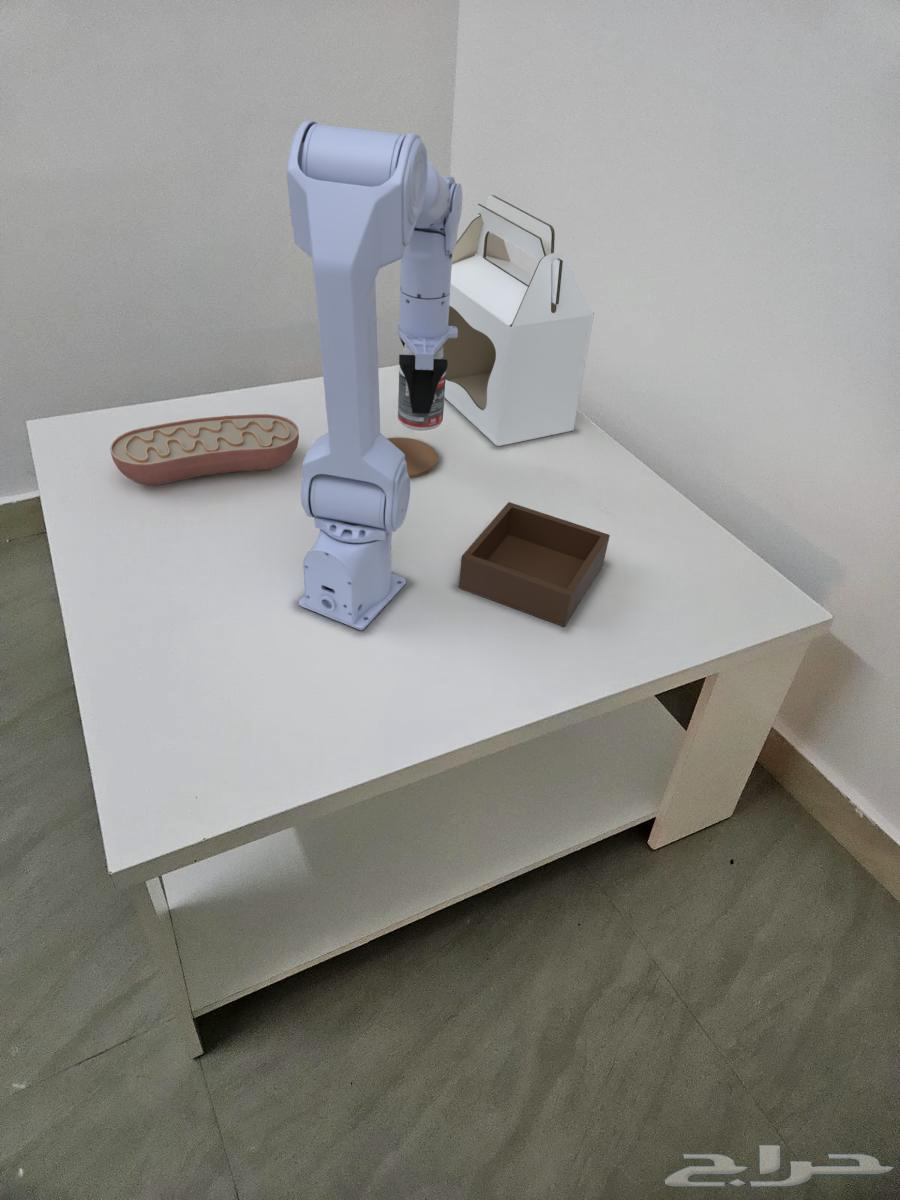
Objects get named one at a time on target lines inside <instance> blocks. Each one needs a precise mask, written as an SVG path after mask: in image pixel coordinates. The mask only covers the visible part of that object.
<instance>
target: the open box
mask: <svg viewBox="0 0 900 1200" xmlns="http://www.w3.org/2000/svg"><path fill="white" fill-rule="evenodd" d="M478 535H479V536H478V537H477V538H476V539H475V540H474V541H473V542H472V543H471V545H470V546H468V548H467V549H466V550H465V551H464V553H463V554H462V555H461V557H460V567H459V578H458V579H459V580H458V589H460V590H463V591H466V592H469V593H471V594H474V595H476V596H479V597H482V598H485V599H488V600H490V601H493V602H495V603H498V604H501V605H504V606H507V607H509V608H512V609H515V610H517V611H519V612H523V613H526V614H528V615H531V616H533V617H536V618H539V619H542V620H543V621H547V622H550V623H552V624H554V625H558V626H561V627H563V628H565V627H566V626H567V624H568V623H569V621H570V619H571V618H572V617H573V615H574V613H575V611H576V610H577V608H578V606H579V605H580V603H581V602H582V599H583V598H584V596H585V595H586V593H587V592H588V590H589V589H590V587H591V585H592V584H593V582H594V580H595V579H596V578H597V576H598V574H599V573H600V571H601V570H602V568H603V566H604V562H605V557H606V554H607V549H608V544H609V541H610V537H611V535H610V534H609V533H606V532H602V531H599V530H596V529H593V528H591V527H588V526H584V525H581V524H578V523H576V522H575V523H574V522H571V521H569V520H565V519H563V518H559V517H558V516H557V517H556V516H553V515H550V514H547V513H545V512H542V511H538V510H535V509H532V508H529V507H526V506H522V505H519V504H517V503H514V502H510V501H508V502H507V503H506V505H504V506H503V508H502V509H501V510H500V511H499V512H498V513H497V515H495V517H494V518H493V519H492V520H491V522H490V523H489V524H488V525H487V526H486V527H485V528H484V530H483V531H482V532H481V533H480V534H478Z"/></svg>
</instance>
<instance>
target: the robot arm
mask: <svg viewBox="0 0 900 1200" xmlns="http://www.w3.org/2000/svg"><path fill="white" fill-rule="evenodd" d="M286 183H287V192H288V201H289V210H290V222H291V226H292V229H293V238H294V239H293V240H294V243H295V245H296V246H298V247H299V248H300V249H301V250H302V251H303V252H304V253H305V254H307V255H308V257H310V258H311V263H312V271H313V280H314V290H315V300H316V311H317V321H318V323H317V324H318V332H319V334H318V335H319V345H320V355H321V357H320V358H321V367H322V379H323V390H324V402H325V410H326V411H325V412H326V422H327V423H326V424H327V433H324V434H322V435H321V436H319V437H318V438H316V439H314V441H313V442H312V443H311V444H310V446H309V448H308V450H307V452H306V453H305V455H304V458H303V460H302V462H301V474H302V475H301V476H302V477H301V484H300V503H301V507H302V509H303V510H304V513H305V514H306V516H307V517H309V518H314V528H316V529H319V533H318V536H317V539H316V541H315V543H314V544H313V546H312V547H311V548H310V550H308V551H307V553H306V554H305V556H304V558H303V565H302V568H303V580H304V595H303V596H302V597H301V598H300V599H299V601H298V604H299V606H300V607H302V608H305V609H307V610H310V611H312V612H315V613H317V614H320V615H322V616H325V617H326V618H329V619H332V620H334V621H336V622H340V623H342V624H345V625H347V626H349V627H351V628H354V629H356V630H360V631H362V630H365V628H366V627H367V626H368V625H369V624H371V622H372V621H373V620H374V619H375V618H376V617H377V615H379V613H380V612H381V611H382V610H384V607H386V606H387V605H388V604H389V602H390V601H391V600H392V599H393V598H394V597H395V596H396V595H397V594H398V593H399V591H401V589H402V588H404V586H405V585H406V584H407V578H405V577H403V576H400V575H397V574H395V573H393V572H392V544H393V543H392V540H393V533H395V532H396V531H397V530H398V529H400V528H401V527H402V525H403V524H404V521H405V519H406V516H407V513H408V508H409V504H410V496H411V478H409V476H408V473H407V463H406V461H405V454H404V453H403V452H402V451H401V450H400V449H398V448H397V447H396V446H395V445H394V444H393V443H391V442H390V441H389V440H388V439H387V438H388V437H386V436H384V435H383V434H382V432H381V413H380V412H381V411H380V410H381V409H380V407H381V406H380V382H379V379H380V377H379V352H378V351H379V349H378V323H377V321H378V318H377V291H376V290H377V287H376V279H377V275H378V273H379V271H380V269H382V268H384V267H386V266H388V265H390V264H393V263H396V262H398V261H400V274H399V275H400V279H399V280H400V281H399V319H398V321H399V322H398V325H397V327H396V328H397V333H396V334H397V336H398V338H399V339H400V342H401V344H402V346H403V348H404V345H405V344H406V345H407V346H408V347H409V349H410V350H411V351H412V352H413V353H414V355H404V354H399V355H398V365H399V368H401V370H402V372H403V374H404V376H405V378H406V381H407V385H408V390H409V397H410V404H411V408H412V412H413V413H429V412H430V410H431V407H432V404H433V400H434V396H435V392H436V388H437V386H438V383H439V381H440V379H441V377H442V376H443V374H444V373H445V371H446V369H447V366H448V362H447V359H434V355H435V354H436V352H437V351H438V350H439V349H440V347H441V346H442V345H443V344H444V343H445V341H446V340H447V339H448V338H457V336H458V330H457V327H455V326H448V319H449V303H450V287H451V271H452V253H453V250H454V249H455V248H456V242H457V241H458V230H459V224H460V220H461V216H462V211H463V210H462V209H463V187H462V184H461V183H460V182H458V183H456V179H455V177H454V176H448V175H442V174H441V173H440V172H439V171H438V169H437V168H436V167H435V166H434V165H433V164H432V163H431V161H430V160H429V159H428V152H427V148H426V145H425V143H424V141H423V140H422V137H420V135H419V133H417V132H409V133H407V134H406V133H398V132H390V131H381V130H373V129H366V128H365V129H364V128H357V127H349V126H348V127H347V126H339V125H331V124H324V123H323V124H322V123H318V122H317V121H314V120H308V119H307V120H304V121H302V123H301V124H300V125H299V127H298V129H297V130H296V131H295V132H294V135H293V137H292V140H291V144H290V148H289V156H288V160H287V164H286Z"/></svg>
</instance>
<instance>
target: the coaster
mask: <svg viewBox="0 0 900 1200" xmlns="http://www.w3.org/2000/svg"><path fill="white" fill-rule="evenodd" d="M386 438H387V439H388V440H389V441H390V442H391V443H393V444H394V445H395V446H396V447H397V448H398V449H400V450H401V451H402V452H403V453H404V454H405V461H406V463H407V473H408V476H409V478H410V479H411V478H417V477H420V476H424V475H426V474H429V473H430V472H431V471H433V470H434V469H435V468H436V466H437V464H438V453H437V451H436V450H435V449H434V448H433V447H432V446H431V445H429V444H428V443H427V442H424V441H421V440H419V439H416V438H409V437H386Z"/></svg>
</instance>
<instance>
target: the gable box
mask: <svg viewBox="0 0 900 1200" xmlns="http://www.w3.org/2000/svg"><path fill="white" fill-rule="evenodd" d="M485 204H486V205H485V206H484V205H483V204H481V203H478V204H477V208H478V210H479V213H476V217H475V218H474V219H472V220H471V222H470V223H469V224H468V226H467V227H466V229H465V230H464V231H463V232H462V234H461V235H460V237H459V238H458V239H457V242H456V248H455V249H454V250H453V253H452V271H451V287H450V303H449V319H448V326H455V327H457V330H458V336H457V338H448V339H447V340H446V341H445V343H444V344H443V358H442V359H447V362H448V366H447V369H446V379H445V394H444V399H446V400H447V401H448V402H449V403H450V404H451V405H452V406H453V407H455V409H456V410H458V411H459V412H460V413H461V414H462V415H463V416H464V417H465V418H466V419H467V420H468V421H469V422H470V423H471V424H473V425H474V426H475V428H477V429H478V430H479V431H480V432H481V433H482V434H483V435H484V436H485V437H487V438H488V439H489V441H491V442H492V443H493V444H494V445H495V446H496V447H502V446H506V445H511V444H517V443H520V442H524V441H530V440H535V439H540V438H545V437H549V436H553V435H554V436H555V435H559V434H563V433H568V432H573V431H574V429H575V424H576V419H577V414H578V407H579V402H580V397H581V391H582V384H583V379H584V373H585V367H586V362H587V356H588V351H589V345H590V338H591V333H592V329H593V322H594V316H595V313H594V312H593V310H592V308H591V305H590V303H589V302H588V300H587V298H586V296H585V294H584V292H583V289H582V287H581V285H580V283H579V281H578V279H577V277H576V275H575V273H574V271H573V268H572V267H571V265H570V262H569V260H568V259H567V258H566V256H564V255H563V254H561V253H559V252H555V240H556V238H555V237H556V234H555V229H554V226H552V225H551V224H550V223H548V222H546V221H544V220H542V219H540V218H538V217H536V216H534V215H533V214H531V213H529V212H527V211H525V210H522V209H521V208H519V207H517V206H516V205H513V204H512V203H510V202H508V201H506V200H504V199H502V198H500V197H498V196H497V195H495V194H491V195H489V196H488V197H487V200H486V203H485ZM505 242H507V243H508V244H510V245H512V246H513V247H515V248H516V249H518V250H520V251H521V252H523V253H524V254H527V255H528V256H530V257H531V258H533V259H534V260H537V261H538V263H537V266H536V268H535V269H534V272H533V274H532V273H530V272H529V271H526V270H525V269H523V268H522V267H520V266H518V264H516V263H514V262H511V259H510V256H509V252H508V249H507V246H506V243H505Z"/></svg>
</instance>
